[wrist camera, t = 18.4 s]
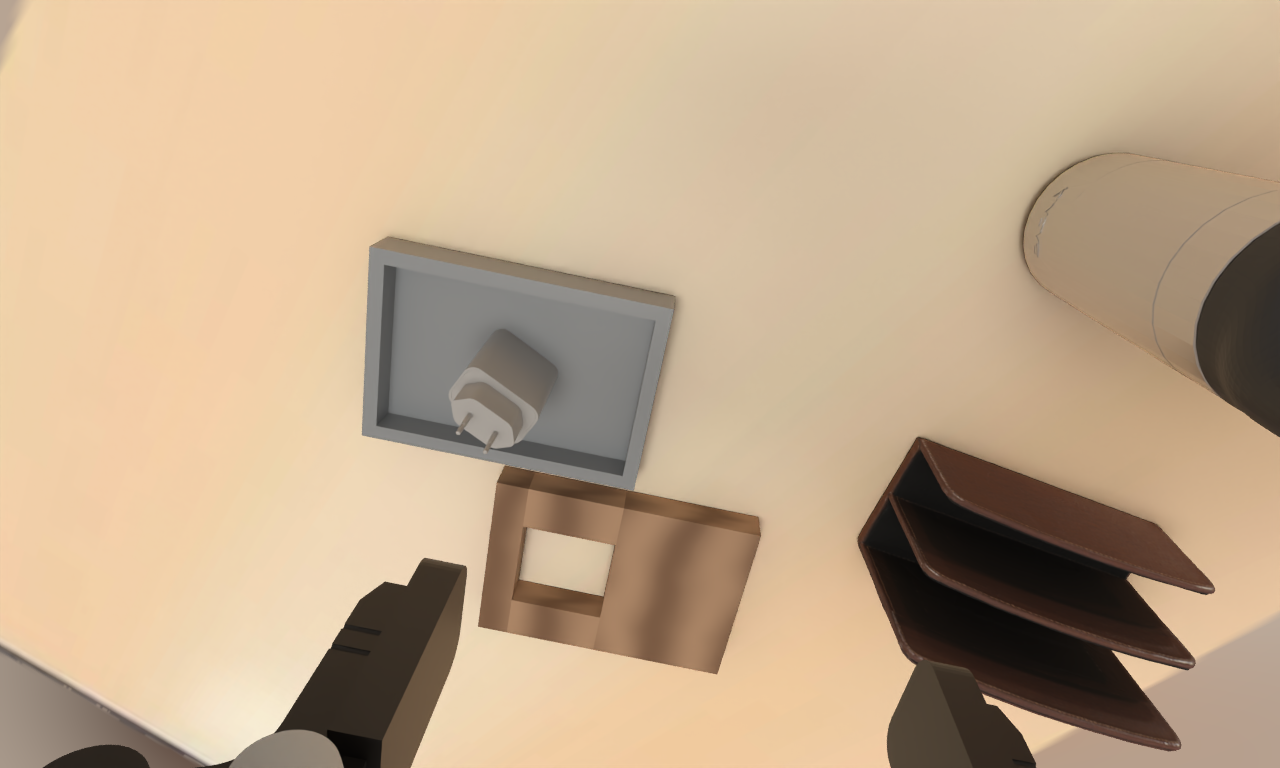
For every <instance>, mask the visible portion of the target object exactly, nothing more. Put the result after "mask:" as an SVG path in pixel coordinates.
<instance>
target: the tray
mask: <svg viewBox="0 0 1280 768" xmlns="http://www.w3.org/2000/svg"><path fill="white" fill-rule="evenodd" d="M674 304H675V296H671V295H667V294H662V293H657V292H652V291H647V290H642V289H638V288H633V287H628V286H623V285H618V284H614V283H609V282H604V281H599V280H594V279H589V278H585V277H580V276H575V275H570V274H565V273H560V272H556V271H551V270H546V269H541V268H536V267H532V266H527V265H522V264H517V263H512V262H507V261H503V260H498V259H493V258H488V257H483V256H478V255H474V254H469V253H464V252H459V251H454V250H449V249H445V248H440V247H435V246H430V245H425V244H421V243H416V242H411V241H406V240H401V239H396V238H392V237H386V238H384V239H382V240H381V241H379V242H377V243H375V244H373V245H371V246H370V248H369V273H368V297H367V322H366V347H365V372H364V397H363V422H362V435H363V436H368V437H373V438H378V439H383V440H388V441H392V442H397V443H402V444H407V445H412V446H417V447H422V448H427V449H432V450H437V451H442V452H447V453H452V454H456V455H461V456H466V457H471V458H476V459H481V460H486V461H491V462H496V463H501V464H506V465H511V466H515V467H520V468H525V469H530V470H535V471H540V472H545V473H550V474H555V475H560V476H565V477H570V478H575V479H579V480H584V481H589V482H594V483H599V484H604V485H609V486H614V487H619V488H624V489H629V490H634V487H635V483H636V478H637V474H638V469H639V465H640V460H641V456H642V451H643V447H644V442H645V438H646V433H647V429H648V424H649V420H650V415H651V411H652V406H653V402H654V397H655V393H656V388H657V384H658V379H659V375H660V370H661V366H662V361H663V357H664V352H665V348H666V343H667V339H668V334H669V330H670V325H671V321H672V316H673V312H674ZM498 329H506V330H508V331H510V332H511V333H512V334H514V335H515V336H516V337H518V338H519V339H520V340H522V341H523V342H524V343H526V344H527V345H528V346H530V347H531V348H532V349H534V350H535V351H536V352H538V353H539V354H540V355H542V356H543V357H544V358H546V359H547V360H548V361H550V362H551V363H552V364H553V365H555V367H556V368H557V370H558V375H557V378H556V380H555V382H554V385H553V387H552V389H551V391H550V394H549V396H548V398H547V400H546V402H545V405H544V407H543V409H542V411H541V414H540V416H539V418H538V420H537V422H536V424H535V425H534V426H533V427H532V428H531V430H530V431H529V432H528V433H527V434H526V436H525V437H524V438H523V439H522V440H521V441H520V442H518V443H515V444H514V445H513V446H511V447H505V448H497V449H495V448H491V447H490V449H489V451H488V453H487V454H484V453H483V450H484V448H485V447H486V444H485V443H483V442H482V441H480V440H479V439H477V438H476V437H475V436H473V435H472V434H470V433H469V432H467V431H466V430H465V429H463V431H462V432H461V434H460V435H457V434H456V431H457V430H458V428H459V425H458V424H457V423H456V422H455V421H454V418H453V413H452V406H451V403H452V402H451V401H450V399H449V391H450V389H451V388H452V386H453V385H454V384H455V382H456V381H457V380H458V379H459V377H460V376H461V375H462V373H463V372H464V371H465V369H466V368H467V367H468V365H469V364H470V363H471V362H472V360H473V359H474V358H475V356H476V355H477V354H478V352H479V351H480V350H481V348H482V347H483V346H484V345H485V343H486V342H487V341H488V339H489V338H490V337H491V335H492V334H493V333H494V332H495V331H496V330H498Z"/></svg>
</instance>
